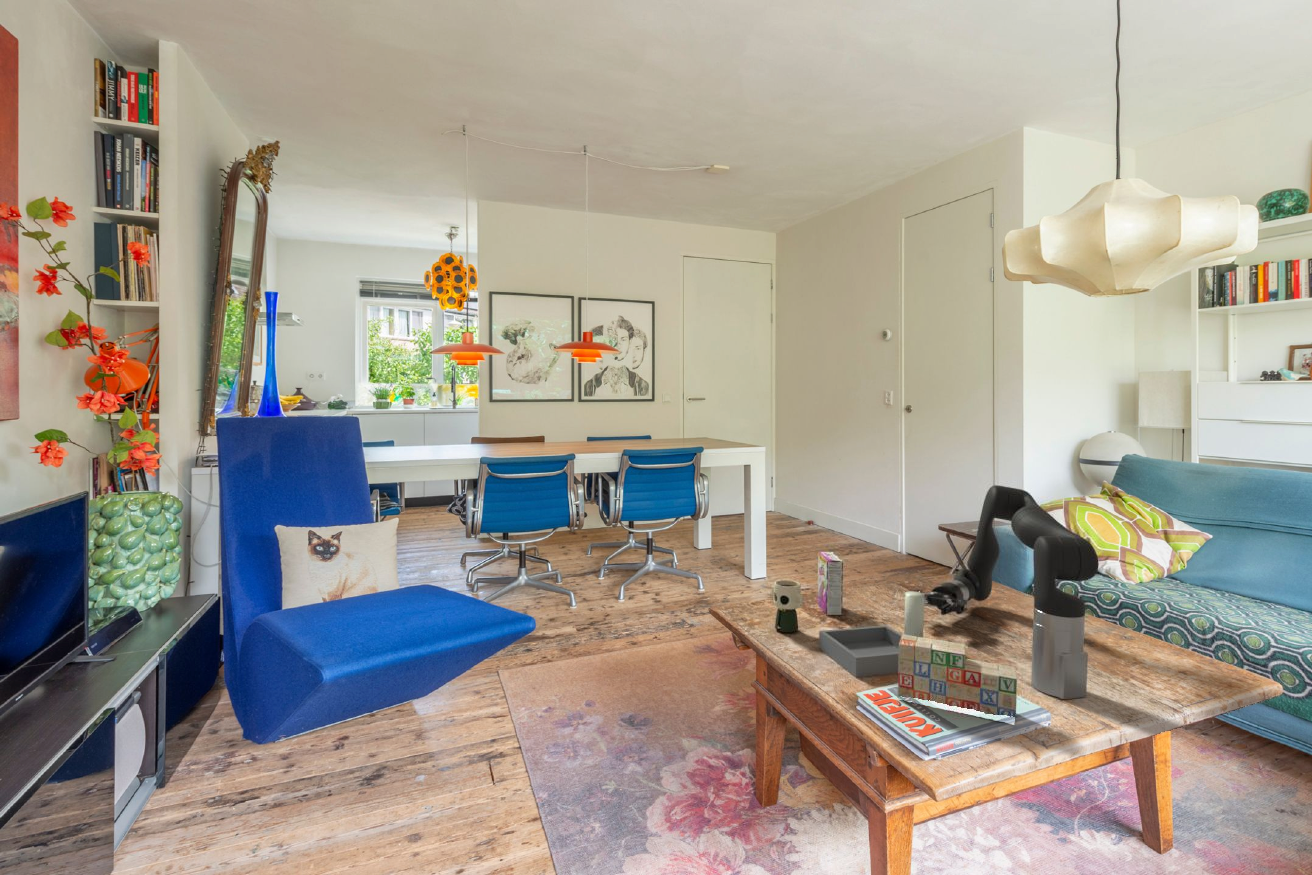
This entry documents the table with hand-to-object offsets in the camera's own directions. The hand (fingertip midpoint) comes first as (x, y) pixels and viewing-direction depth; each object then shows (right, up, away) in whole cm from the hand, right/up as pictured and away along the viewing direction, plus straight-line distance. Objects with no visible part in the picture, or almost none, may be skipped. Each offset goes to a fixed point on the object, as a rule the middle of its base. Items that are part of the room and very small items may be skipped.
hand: (926, 607), depth 166 cm
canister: (-5, -7, -5) cm, 10 cm away
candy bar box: (-21, -6, +18) cm, 29 cm away
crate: (-21, -8, -17) cm, 28 cm away
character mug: (-38, -7, +1) cm, 38 cm away
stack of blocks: (-12, -9, -41) cm, 43 cm away
